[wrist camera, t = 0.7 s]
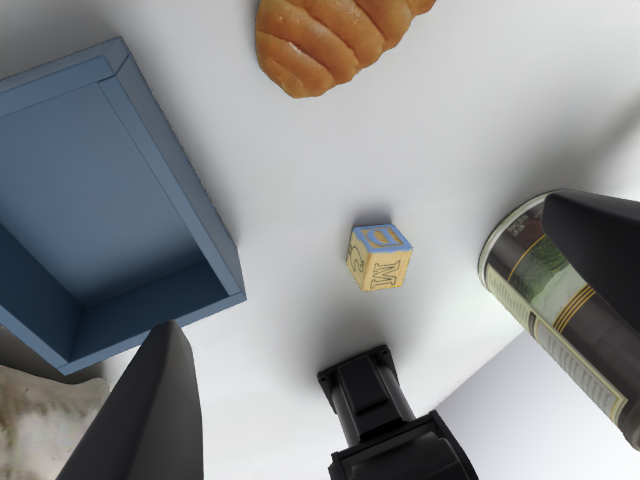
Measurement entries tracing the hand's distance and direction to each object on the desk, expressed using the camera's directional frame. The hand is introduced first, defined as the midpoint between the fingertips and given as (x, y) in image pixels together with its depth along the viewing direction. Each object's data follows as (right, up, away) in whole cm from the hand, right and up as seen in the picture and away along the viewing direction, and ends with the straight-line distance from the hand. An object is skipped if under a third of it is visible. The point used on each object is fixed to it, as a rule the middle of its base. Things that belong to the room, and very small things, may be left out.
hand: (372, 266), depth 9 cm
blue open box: (-12, +3, +11) cm, 17 cm away
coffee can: (+16, 0, +23) cm, 28 cm away
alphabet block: (+2, 0, +18) cm, 18 cm away
